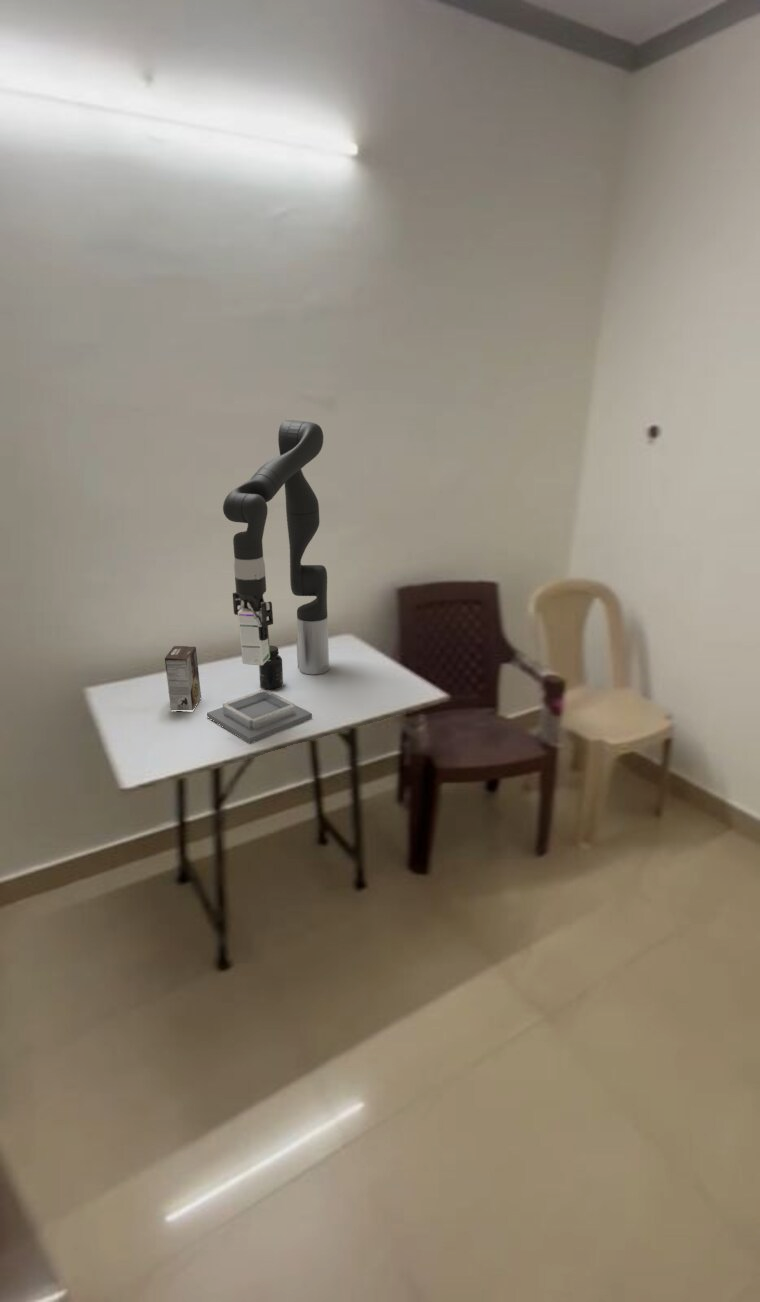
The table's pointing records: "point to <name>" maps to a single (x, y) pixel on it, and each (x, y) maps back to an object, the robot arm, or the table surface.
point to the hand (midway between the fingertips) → (254, 635)
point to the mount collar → (263, 720)
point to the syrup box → (252, 639)
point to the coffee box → (183, 678)
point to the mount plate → (254, 712)
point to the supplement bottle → (272, 671)
